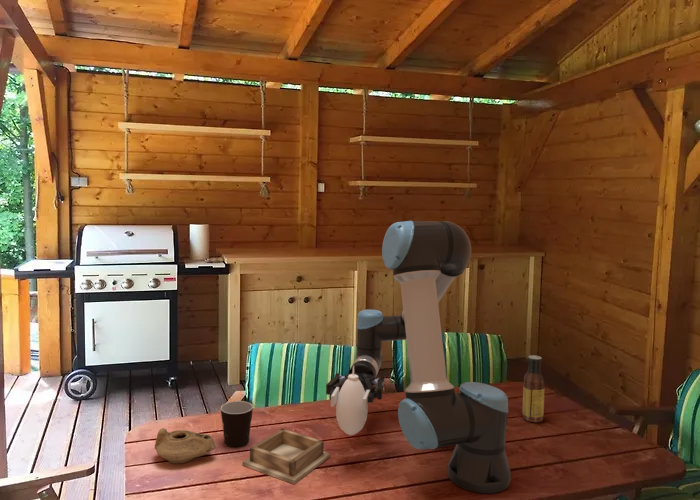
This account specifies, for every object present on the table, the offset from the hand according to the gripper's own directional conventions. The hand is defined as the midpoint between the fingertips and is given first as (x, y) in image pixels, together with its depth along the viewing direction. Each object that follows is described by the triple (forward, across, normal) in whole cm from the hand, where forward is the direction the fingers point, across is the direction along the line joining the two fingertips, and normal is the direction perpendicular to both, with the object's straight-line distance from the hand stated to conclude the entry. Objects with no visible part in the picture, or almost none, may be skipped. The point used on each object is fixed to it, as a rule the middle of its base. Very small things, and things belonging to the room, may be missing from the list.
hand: (348, 402), depth 140 cm
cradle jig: (-2, +16, -18) cm, 24 cm away
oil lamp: (+2, +42, -18) cm, 45 cm away
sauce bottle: (-45, -50, -18) cm, 70 cm away
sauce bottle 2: (-5, 0, -10) cm, 11 cm away
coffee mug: (-10, +32, -18) cm, 38 cm away
